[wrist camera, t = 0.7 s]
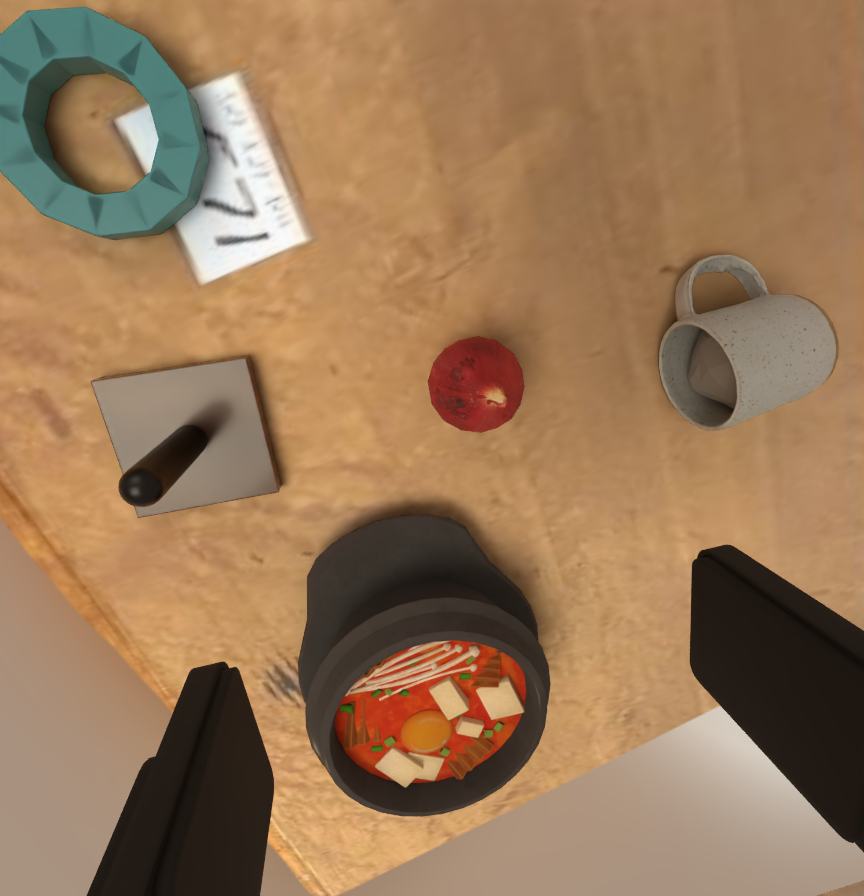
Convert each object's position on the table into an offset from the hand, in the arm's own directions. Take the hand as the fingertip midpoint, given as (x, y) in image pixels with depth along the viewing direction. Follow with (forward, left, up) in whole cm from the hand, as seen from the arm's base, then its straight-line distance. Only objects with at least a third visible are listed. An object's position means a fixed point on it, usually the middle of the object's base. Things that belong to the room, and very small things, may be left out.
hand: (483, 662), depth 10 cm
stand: (0, -12, -26) cm, 28 cm away
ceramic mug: (-1, +24, -26) cm, 35 cm away
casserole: (+20, 0, -26) cm, 33 cm away
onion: (-1, +6, -26) cm, 26 cm away
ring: (-17, -12, -26) cm, 33 cm away
